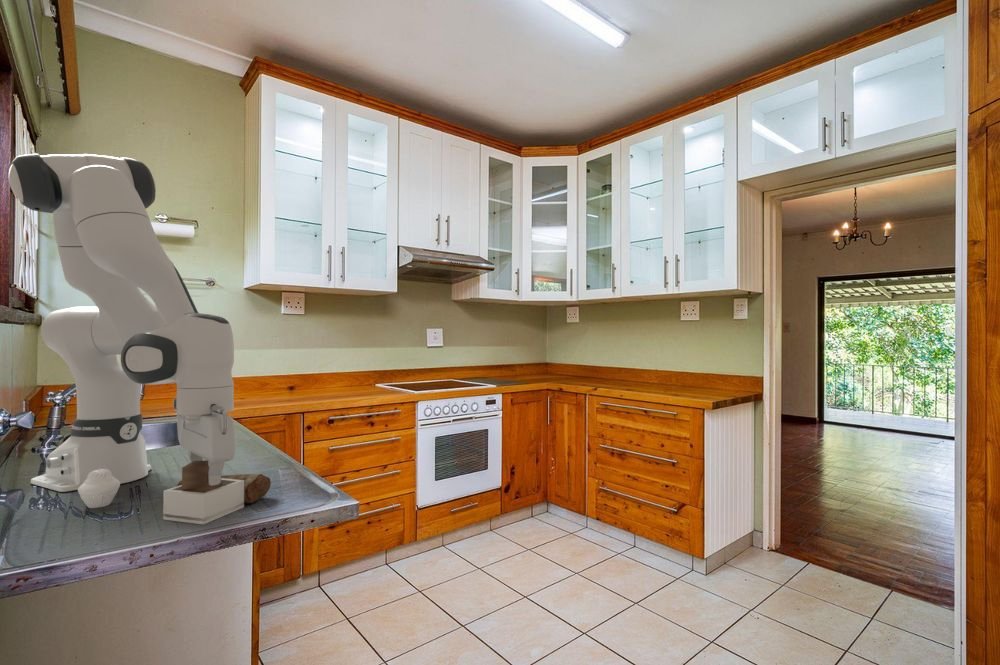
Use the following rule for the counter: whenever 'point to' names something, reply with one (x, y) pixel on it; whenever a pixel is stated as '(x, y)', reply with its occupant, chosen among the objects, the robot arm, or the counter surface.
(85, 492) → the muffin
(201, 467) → the walnut block
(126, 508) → the counter surface
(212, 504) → the bin
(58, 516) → the counter surface
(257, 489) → the bread
